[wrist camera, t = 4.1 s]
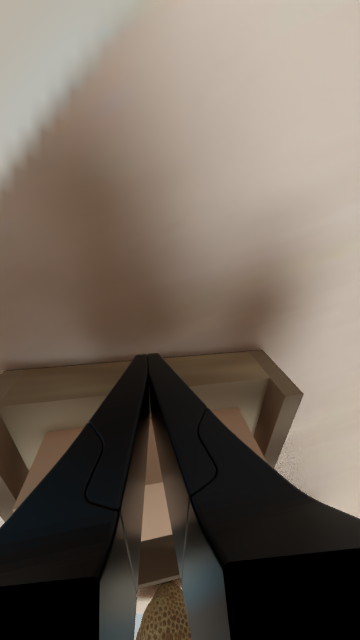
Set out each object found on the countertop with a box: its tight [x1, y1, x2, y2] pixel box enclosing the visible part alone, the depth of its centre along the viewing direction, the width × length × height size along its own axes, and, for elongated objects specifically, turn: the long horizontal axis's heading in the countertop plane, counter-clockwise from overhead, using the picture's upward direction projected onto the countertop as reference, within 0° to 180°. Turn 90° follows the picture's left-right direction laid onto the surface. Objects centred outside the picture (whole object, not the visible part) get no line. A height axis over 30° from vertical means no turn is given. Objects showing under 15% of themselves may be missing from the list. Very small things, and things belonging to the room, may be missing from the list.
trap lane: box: [0, 350, 303, 589], centre depth 15 cm, size 22×15×4 cm
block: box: [13, 408, 267, 541], centre depth 11 cm, size 5×10×3 cm, turn 88°
